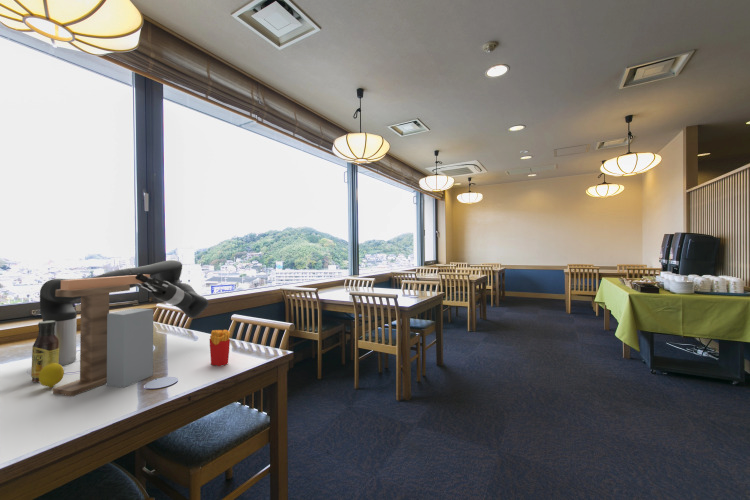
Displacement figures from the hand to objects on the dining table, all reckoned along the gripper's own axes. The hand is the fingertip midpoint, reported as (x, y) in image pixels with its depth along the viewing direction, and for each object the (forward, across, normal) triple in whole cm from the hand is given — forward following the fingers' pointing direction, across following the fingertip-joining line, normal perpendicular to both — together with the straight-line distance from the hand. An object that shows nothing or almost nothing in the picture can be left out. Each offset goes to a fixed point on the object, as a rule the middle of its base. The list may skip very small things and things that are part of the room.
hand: (133, 275), depth 112 cm
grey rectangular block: (-11, -10, -34) cm, 37 cm away
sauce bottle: (-5, +20, -38) cm, 43 cm away
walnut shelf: (-7, 0, -36) cm, 37 cm away
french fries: (-28, -28, -24) cm, 47 cm away
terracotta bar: (+5, 0, -6) cm, 8 cm away
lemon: (-2, +10, -40) cm, 41 cm away
